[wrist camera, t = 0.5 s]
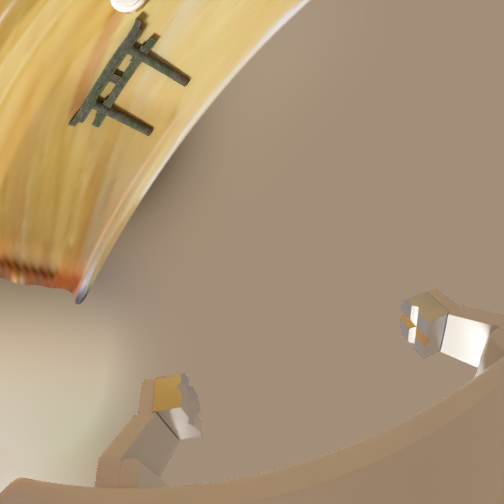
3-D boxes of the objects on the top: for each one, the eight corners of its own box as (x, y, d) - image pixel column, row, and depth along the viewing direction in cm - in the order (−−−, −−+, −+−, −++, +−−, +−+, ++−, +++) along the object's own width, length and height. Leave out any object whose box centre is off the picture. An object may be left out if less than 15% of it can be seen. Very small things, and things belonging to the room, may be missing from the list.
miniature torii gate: (136, 156, 52) (68, 124, 42) (136, 151, 53) (70, 120, 43) (206, 61, 43) (136, 18, 33) (203, 59, 45) (136, 18, 35)
